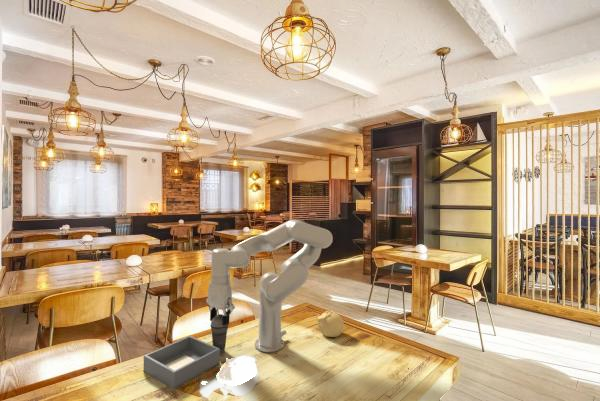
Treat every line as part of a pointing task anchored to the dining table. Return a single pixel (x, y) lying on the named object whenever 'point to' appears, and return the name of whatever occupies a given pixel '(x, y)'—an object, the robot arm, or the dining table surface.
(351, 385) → the dining table surface
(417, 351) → the dining table surface
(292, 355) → the dining table surface
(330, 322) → the sculpture
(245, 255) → the robot arm
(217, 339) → the beverage cup
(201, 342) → the walled bin
